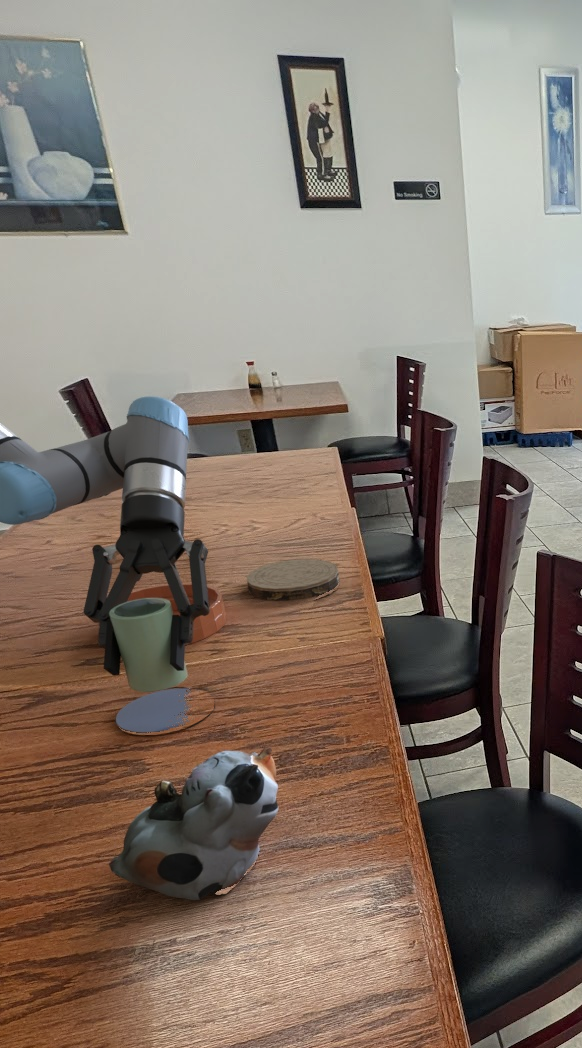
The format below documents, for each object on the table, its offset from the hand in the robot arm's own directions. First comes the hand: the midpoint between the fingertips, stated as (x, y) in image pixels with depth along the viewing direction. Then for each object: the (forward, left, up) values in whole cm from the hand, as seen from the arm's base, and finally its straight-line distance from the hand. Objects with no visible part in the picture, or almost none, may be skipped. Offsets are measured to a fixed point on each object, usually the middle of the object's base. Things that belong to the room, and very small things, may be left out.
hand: (144, 669), depth 101 cm
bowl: (-14, +29, -8) cm, 33 cm away
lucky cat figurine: (+18, -26, -8) cm, 33 cm away
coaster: (-1, +3, -8) cm, 9 cm away
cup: (-1, +3, -3) cm, 5 cm away
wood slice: (0, +49, -8) cm, 50 cm away
